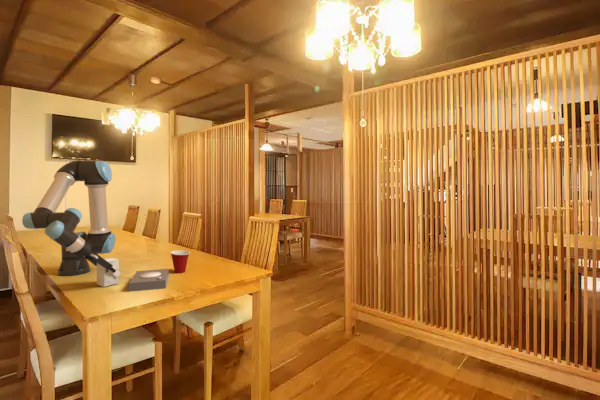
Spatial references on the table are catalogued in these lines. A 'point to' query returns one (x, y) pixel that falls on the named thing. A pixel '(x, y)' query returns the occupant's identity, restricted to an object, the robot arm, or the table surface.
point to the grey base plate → (149, 280)
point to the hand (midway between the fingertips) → (114, 273)
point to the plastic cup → (180, 260)
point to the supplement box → (107, 273)
